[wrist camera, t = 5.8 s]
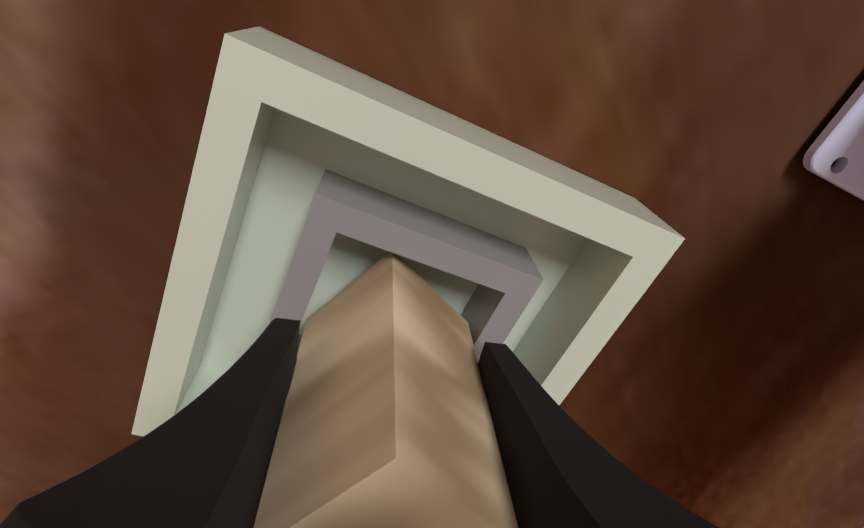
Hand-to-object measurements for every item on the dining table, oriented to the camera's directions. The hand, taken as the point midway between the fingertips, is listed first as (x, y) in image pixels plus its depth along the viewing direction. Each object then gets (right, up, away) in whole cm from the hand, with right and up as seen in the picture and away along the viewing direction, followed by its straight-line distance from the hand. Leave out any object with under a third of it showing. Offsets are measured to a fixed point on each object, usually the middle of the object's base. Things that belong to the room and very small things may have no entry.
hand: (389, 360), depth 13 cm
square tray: (0, +2, +3) cm, 4 cm away
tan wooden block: (0, +1, +2) cm, 2 cm away
